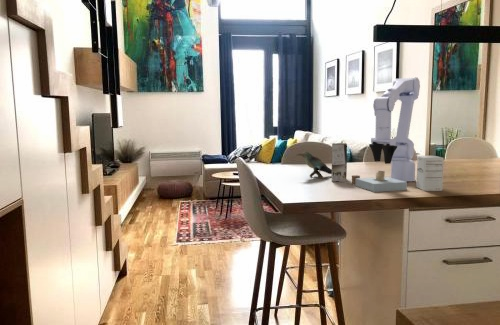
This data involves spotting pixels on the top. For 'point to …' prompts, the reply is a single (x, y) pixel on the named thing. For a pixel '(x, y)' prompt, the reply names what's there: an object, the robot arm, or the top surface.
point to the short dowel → (354, 178)
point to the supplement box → (430, 173)
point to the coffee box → (339, 162)
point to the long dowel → (380, 175)
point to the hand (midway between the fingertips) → (382, 162)
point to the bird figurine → (315, 164)
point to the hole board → (381, 184)
